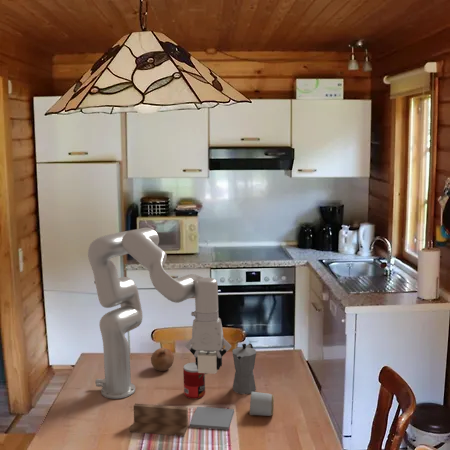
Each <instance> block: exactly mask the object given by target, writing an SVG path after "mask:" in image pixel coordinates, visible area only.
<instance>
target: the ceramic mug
mask: <svg viewBox="0 0 450 450" xmlns="http://www.w3.org/2000/svg"><path fill="white" fill-rule="evenodd" d="M249 399H250V403H249V415H250V416H263V417H264V416H265V417H269V416H272V415H273V414H274V405H275V403H274V402H275V395H274V394H272V393H268V392H267V393H266V392H265V393H264V392H258V391H255V392H251V394H250V398H249Z"/></svg>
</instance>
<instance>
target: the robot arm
mask: <svg viewBox="0 0 450 450" xmlns="http://www.w3.org/2000/svg"><path fill="white" fill-rule="evenodd" d="M159 243H160V237H159V234H158V233H157V232H156V230H155V229H153V228H152V227H142V228H136V229H130V230H126V231H125V230H124V231H120V232H116V233H110V234H107V235H103V236H99V237H97V238H95V239H94V240H93V241H92V242H91V243H90V244H89V246H88V249H87V250H88V251H87V257H88V261H89V262H88V263H89V264H90V267H91V270H92V273H93V277H94V283H95V287H96V293H97V298H98V301H99V304H100V305H101V306H102V307H103V308H106V309H109V308H113V307H116V306H117V308H115V309H113V310H111V311H108V312H106V313H105V314H103V315H102V317H101V318H100V320H99V331H100V335H101V338H102V339H101V340H102V346H103V347H102V348H103V364H104V367H103V368H104V378H103V379H102V378H95V381H94V382H95V387H101V393H100V394H101V395H102V396H103V397H104V398H106V399H113V400H117V399H118V400H119V399H123V398H128V397H129V396H131V395H133V394H134V393H135V392H136V385H135V384H134V383H132V381H131V380H132V379H131V355H130V353H131V351H130V344H129V343H130V342H129V341H128V339H127V338H126V334H127V333H129V332H130V331H133V330H135V329H137V328H138V327H140V326H141V324H142V322H143V317H144V316H143V310H142V305H141V298H140V293H139V290H138V287H137V286H138V285H136V283H135V281H134V279H132V278H130V277H129V276H122V277H119V274H118V269H117V267H116V265H115V264H114V262H113V261H112V260H111V259H114V258H117V257H121V256H125V255H130V256H131V257H132V258H133V259H134V260H136V261H137V262H138V263H139V264H140V265H141V266H143V267H144V268H145V269H146V270H147V271H148V272H149V277H150V281H151V283H152V285H153V287H154V288H155V290H156V291H157V292H158V293H160V295H162V296H163V297H164V298H166V299H167V300H168V301H171V302H172V303H175V304H177V303H182V302H184V301H187V300H189V299H191V298H194V302H195V303H194V306H195V307H194V309H195V311H191V313H190V315H191V316H192V317H194V319H193V321H192V327H191V328H192V329H191V330H192V331H191V339H189V340H188V341H187V343H185V345H184V347H185V348H186V349H187V350H188V351H189V352H190V353H191V354H192V355H193V356H194V358H195V362H196V365H197V369H198V354H199V352H200V351H216V354H217V370H220V369H221V367H222V365H223V356H224V355H226V353H227V352H228V351H229V350H231V348H232V345H231V343H229V342H228V341H227V340H226V339H225V337H224V331H223V325H222V319H221V318H220V317H219V316H220V315H219V293H218V292H219V291H218V290H219V287H218V281H217V279H215V278H213V277H203V276H200V275H197V274H193V273H189V274H186V275H184V276H180V277H178V278H176V279H175V278H174V277H172V276H171V275H170V274H169V273H167V271H166V270H165V269H164V267H163V266H164V265H165V264H166V261H167V257H168V256H167V253H166V251H164V250H163V249H162V248H161V247H160V246H159ZM119 305H120V307H118V306H119ZM223 346H224V348H223Z"/></svg>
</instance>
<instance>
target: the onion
mask: <svg viewBox="0 0 450 450" xmlns="http://www.w3.org/2000/svg"><path fill="white" fill-rule="evenodd" d="M174 358H175V356H174V354H173V352H172V350H170V349H168V348H167V347H161V348H160V347H159V348H158V349H156V350H154V352H153V353H152V354H151V357H150V361H151V362H150V363H151V365H152V367H153V369H154V370H157V371H160V372H165V371H168V370H169V369H170V368H171V367H172V366H173V364H174Z"/></svg>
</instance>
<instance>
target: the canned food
mask: <svg viewBox="0 0 450 450" xmlns="http://www.w3.org/2000/svg"><path fill="white" fill-rule="evenodd" d="M182 369H183V394H184V396H185V397H186V398H188V399H192V400H194V399H201V398H203V397H204V396H205V394H206V374H205V373H198V369H197V365H196V361H195V362H188V363H186V364H184V365H183V368H182Z"/></svg>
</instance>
